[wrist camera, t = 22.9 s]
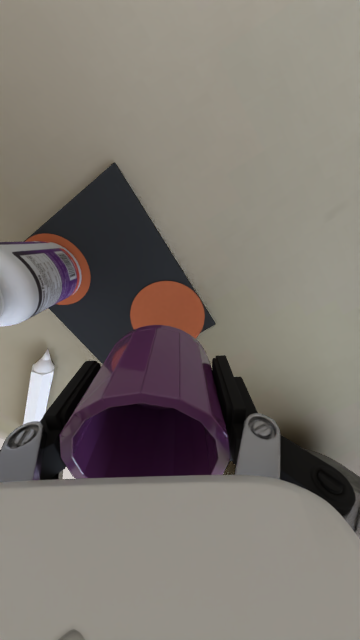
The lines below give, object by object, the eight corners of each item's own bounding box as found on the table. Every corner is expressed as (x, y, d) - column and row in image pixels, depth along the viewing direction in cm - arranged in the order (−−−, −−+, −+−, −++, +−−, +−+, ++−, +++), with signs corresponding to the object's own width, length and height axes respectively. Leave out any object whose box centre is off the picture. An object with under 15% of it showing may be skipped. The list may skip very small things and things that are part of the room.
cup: (87, 357, 12) (21, 441, 7) (173, 304, 11) (168, 361, 6) (148, 419, 14) (131, 518, 9) (227, 381, 13) (257, 473, 8)
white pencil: (57, 341, 23) (40, 428, 29) (36, 340, 22) (22, 431, 27) (57, 355, 21) (39, 445, 27) (34, 355, 20) (19, 449, 25)
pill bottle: (22, 284, 19) (-117, 325, 10) (30, 230, 17) (-135, 221, 8) (76, 306, 20) (-8, 360, 11) (89, 257, 18) (0, 274, 9)
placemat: (5, 259, 19) (1, 260, 18) (115, 163, 16) (113, 161, 15) (120, 379, 24) (119, 382, 24) (217, 326, 21) (218, 328, 21)
